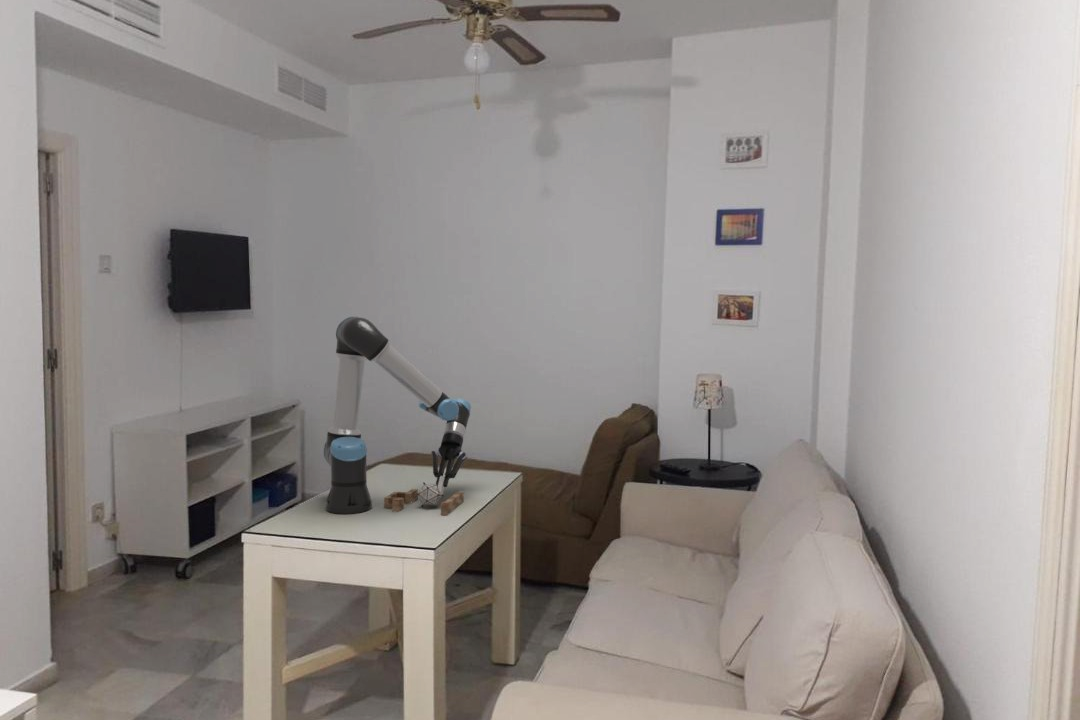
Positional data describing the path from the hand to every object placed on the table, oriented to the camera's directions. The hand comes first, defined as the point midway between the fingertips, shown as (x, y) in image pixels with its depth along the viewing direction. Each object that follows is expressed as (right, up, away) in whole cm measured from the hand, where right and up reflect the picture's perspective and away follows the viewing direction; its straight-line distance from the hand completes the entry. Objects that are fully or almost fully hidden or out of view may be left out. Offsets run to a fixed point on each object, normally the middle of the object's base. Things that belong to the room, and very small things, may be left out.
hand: (439, 494), depth 270 cm
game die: (-3, -4, -3) cm, 5 cm away
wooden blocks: (-5, -4, -3) cm, 7 cm away
